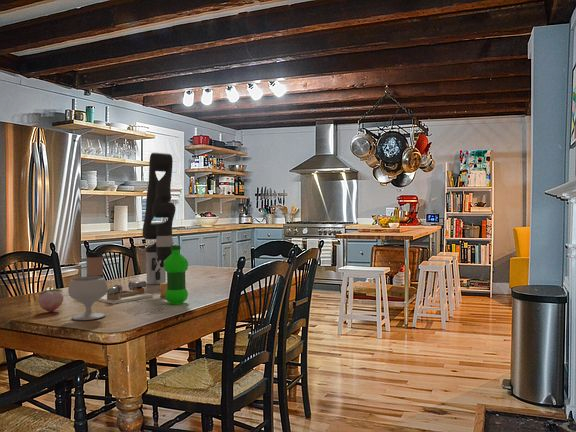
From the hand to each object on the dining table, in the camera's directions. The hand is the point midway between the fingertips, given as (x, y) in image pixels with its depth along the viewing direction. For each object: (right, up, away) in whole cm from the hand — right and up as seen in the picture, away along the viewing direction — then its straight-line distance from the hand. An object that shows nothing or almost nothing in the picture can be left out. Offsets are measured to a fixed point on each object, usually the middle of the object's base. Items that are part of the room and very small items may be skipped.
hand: (165, 280), depth 243 cm
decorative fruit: (-39, -9, -32) cm, 51 cm away
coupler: (0, -8, 0) cm, 8 cm away
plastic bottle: (+9, -8, -18) cm, 22 cm away
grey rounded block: (-20, -7, -12) cm, 24 cm away
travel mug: (-38, -8, +15) cm, 41 cm away
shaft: (-14, -6, +3) cm, 15 cm away
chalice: (-19, -9, -44) cm, 49 cm away
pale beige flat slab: (-19, -8, -3) cm, 21 cm away
